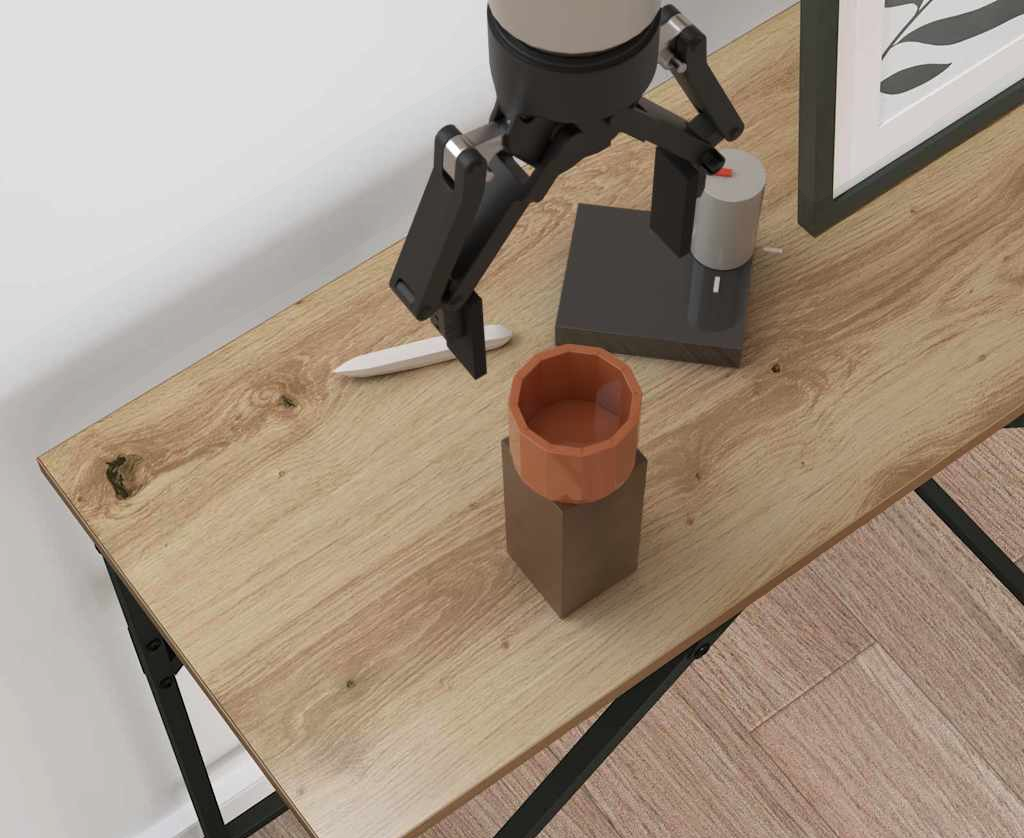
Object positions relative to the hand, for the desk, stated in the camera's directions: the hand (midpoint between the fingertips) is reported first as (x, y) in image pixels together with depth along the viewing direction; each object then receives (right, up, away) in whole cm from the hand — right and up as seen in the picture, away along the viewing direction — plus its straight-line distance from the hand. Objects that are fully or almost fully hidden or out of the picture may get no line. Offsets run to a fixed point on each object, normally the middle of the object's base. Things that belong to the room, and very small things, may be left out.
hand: (570, 299), depth 87 cm
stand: (+1, -15, +26) cm, 30 cm away
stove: (+9, +6, +38) cm, 39 cm away
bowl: (+1, -8, +13) cm, 15 cm away
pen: (-10, 0, +35) cm, 36 cm away
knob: (+13, +9, +36) cm, 40 cm away
